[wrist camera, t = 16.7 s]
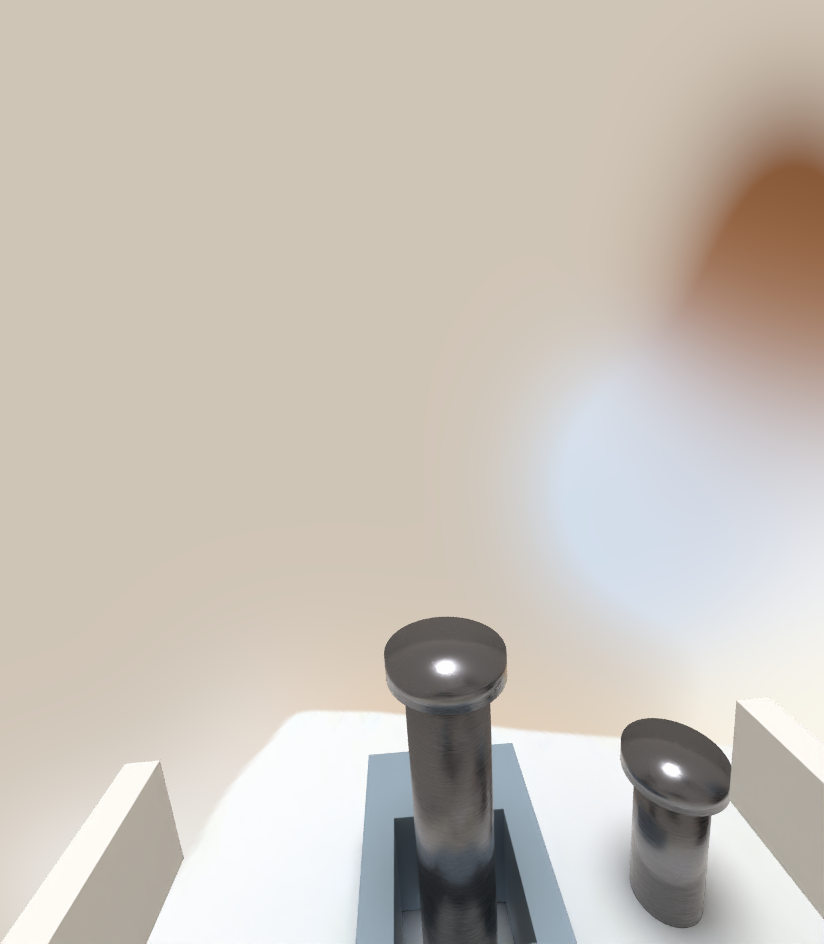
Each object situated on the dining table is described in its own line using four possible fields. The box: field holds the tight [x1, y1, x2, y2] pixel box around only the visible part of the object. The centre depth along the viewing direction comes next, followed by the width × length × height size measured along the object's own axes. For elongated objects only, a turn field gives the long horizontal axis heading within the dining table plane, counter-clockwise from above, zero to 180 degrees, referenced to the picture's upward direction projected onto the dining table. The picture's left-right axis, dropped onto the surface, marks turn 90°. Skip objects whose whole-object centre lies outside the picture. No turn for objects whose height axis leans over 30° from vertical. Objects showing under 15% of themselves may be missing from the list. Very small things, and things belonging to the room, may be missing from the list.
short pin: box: [620, 718, 731, 928], centre depth 27 cm, size 6×6×10 cm
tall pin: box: [384, 617, 507, 944], centre depth 23 cm, size 6×6×20 cm
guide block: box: [356, 743, 577, 944], centre depth 24 cm, size 16×10×7 cm, turn 2°
